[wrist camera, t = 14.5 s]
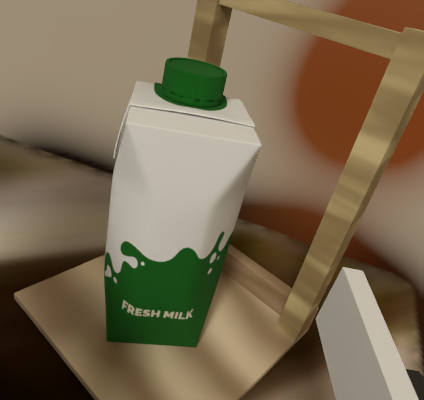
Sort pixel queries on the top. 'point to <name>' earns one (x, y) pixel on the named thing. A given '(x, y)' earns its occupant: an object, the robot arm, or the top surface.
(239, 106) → the fresh milk carton
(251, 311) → the wooden frame stand
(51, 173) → the top surface
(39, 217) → the top surface
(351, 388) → the robot arm
